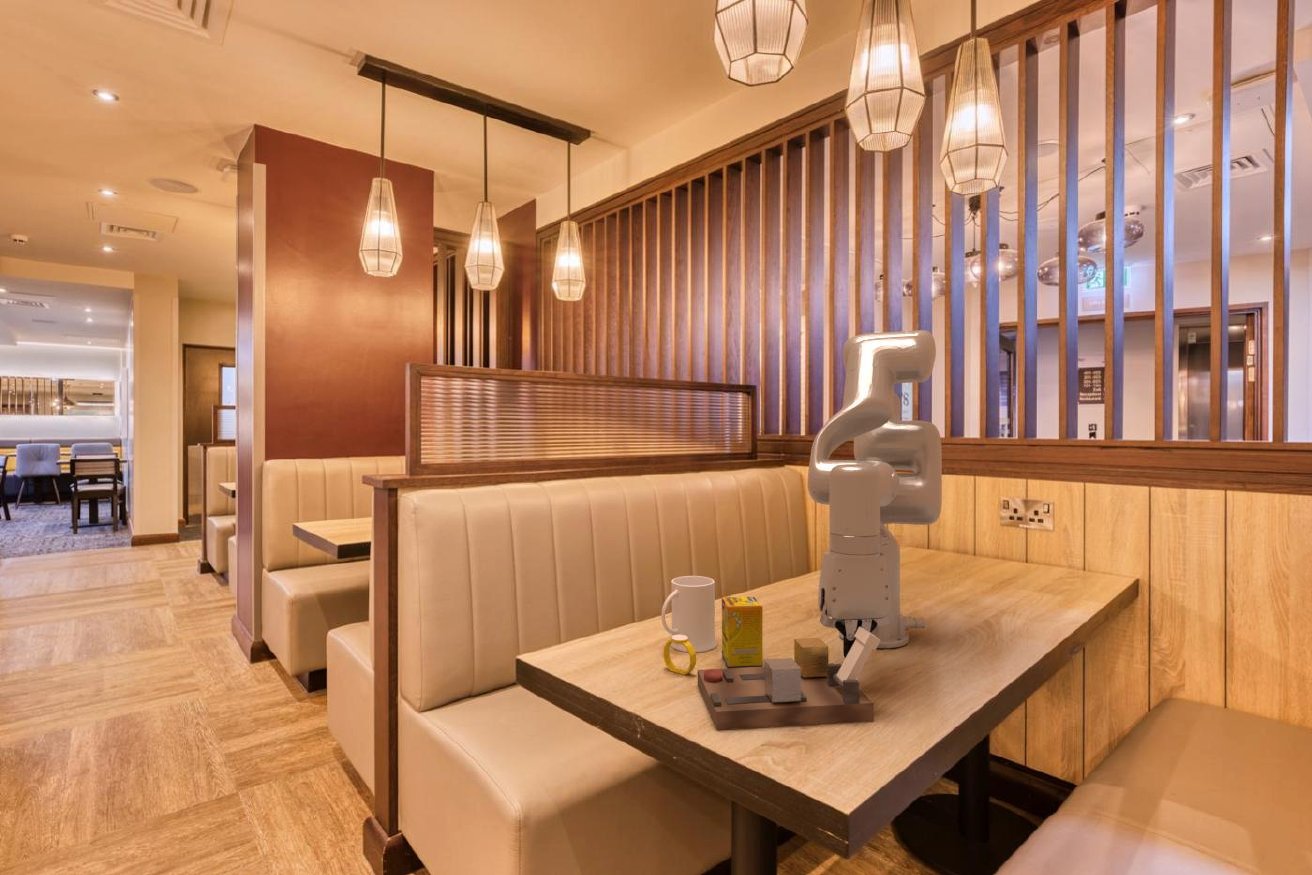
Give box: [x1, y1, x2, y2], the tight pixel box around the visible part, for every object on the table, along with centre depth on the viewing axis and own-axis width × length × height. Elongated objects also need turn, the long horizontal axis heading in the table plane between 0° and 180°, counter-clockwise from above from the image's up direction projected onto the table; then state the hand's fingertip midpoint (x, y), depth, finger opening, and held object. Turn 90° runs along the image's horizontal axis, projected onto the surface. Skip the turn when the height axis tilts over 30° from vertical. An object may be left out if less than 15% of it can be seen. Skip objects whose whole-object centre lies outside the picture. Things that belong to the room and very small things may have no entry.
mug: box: [660, 575, 717, 653], centre depth 120 cm, size 12×8×12 cm
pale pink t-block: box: [833, 626, 881, 689], centre depth 93 cm, size 2×4×9 cm, turn 7°
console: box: [697, 662, 875, 731], centre depth 96 cm, size 22×15×6 cm
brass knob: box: [793, 637, 829, 677], centre depth 100 cm, size 4×4×4 cm
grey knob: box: [763, 657, 801, 702], centre depth 92 cm, size 4×4×4 cm
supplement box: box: [721, 595, 764, 668], centre depth 111 cm, size 6×6×11 cm
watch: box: [662, 635, 697, 676], centre depth 108 cm, size 6×3×6 cm, turn 51°
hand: (854, 662), depth 101 cm, fingers closed
